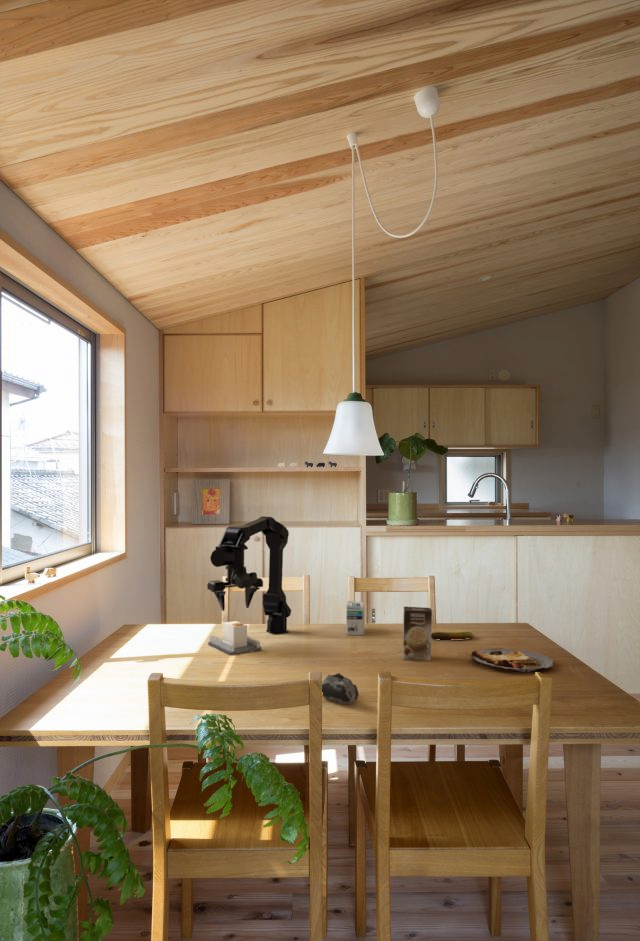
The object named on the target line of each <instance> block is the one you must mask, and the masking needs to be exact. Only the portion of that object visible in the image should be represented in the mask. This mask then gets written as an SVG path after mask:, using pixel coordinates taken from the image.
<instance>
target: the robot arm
mask: <svg viewBox="0 0 640 941" xmlns="http://www.w3.org/2000/svg"><path fill="white" fill-rule="evenodd" d="M258 533H261V534H262V535H264V536H265V544H266V545H267V547H268V549H269V559H268V560H269V561H268V562H269V565H268V566H269V567H268V589H267V591H266V592H265V593H263V594H262V604H261V605H262V608H263V612H264V615H265V616H268V617H267V618H268V619H267V622H266V623H267V624H266V625H267V626H266V630H265V632H267V633H270V634H272V635H280V634H288V633H290V630H288V629H287V626H288V625H287V624H288V622H287V621H288V618H289V617H290V616H291V614H292V609H291V608H290V606H289V605H288V603H287V597H286V594H285V592H284V590H283V565H284V564H283V560H284V550H285V547H286V546H287V544H288V542H289V541H288V540H289V536H290V533H289V530H288V528H287V527H286V526H285V525H284V524H283V523H281V522H279V521H277V520H276V519H275V518H274V517H272V516H260V517H259V518H257V519H254V520H252V521H249V522H246V523H245V524H242V525H232V526H228V527H226V528H225V531H224V533H223V535H222V538H221V540H220V542H219V544H218V545H216V546H215V549H214V550H213V551H212V552H211V555H210V558H209V559H210V562H211V564H212V565H213V567H216V568H219V567H224V566H225V570H227V572H226V573H227V574H226V575H227V576H226V578H225V581H223V580H219V579H218V580H209V581H208V583H207V590H210V592H212V593H213V594H214V595H215V597H216V599H217V602H218V604H219V607H220V610H221V611H222V612H224V611H225V608H226V607H225V606H226V603H225V602H226V601H225V600H226V599H225V595H226V593H227V591H225V589H227V588H236V587H237V588H238V589H244V599H245V600H244V601H245V608H246V609H249V608H250V605H251V602H252V600H253V597H254V595H255V593H256V592H257V591H258V590H260V589H261V588H263V587H264V581H263V579H262V578H260V577H258V573H256V572H254V571H253V572H250V573H249V572H247V566H245V550H248V549H249V548H248V546H247V545H246V543H247V542H249V540H250V539H251V537H252V536H254V535H256V534H258Z"/></svg>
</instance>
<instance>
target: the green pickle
mask: <svg viewBox="0 0 640 941" xmlns="http://www.w3.org/2000/svg"><path fill="white" fill-rule="evenodd" d="M471 637H472V638H474V633H473V632H472V631H471V630H465V629H462V630H455V631H452V630H449V631H448V630H447V631H446V630H443V631H441V630H437V631H436V630H435V631H433V632H431V639H433V640H434V639H440V640H451V639H466V638H471ZM440 640H439V641H440Z"/></svg>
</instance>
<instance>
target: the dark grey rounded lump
mask: <svg viewBox="0 0 640 941" xmlns="http://www.w3.org/2000/svg"><path fill="white" fill-rule="evenodd" d="M321 685H322V692H323V695H322V696H323V698H324V699H326V700H328V701H331V702H334V703H336V702H337V704H339V703H341V704H345V705H348V704H354V703H355V702H356V701H358V698H359V694H360V693H359V690H358V687H357V685H356V684H354V683H353V681H352V680H351V679H350V678H348V677H347V676H344V675H343V674H341V673H340V672H339V673H335V674H332V675H331V674H329V675H327V676H325V678H324V679H323V680H322V682H321Z"/></svg>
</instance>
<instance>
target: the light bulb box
mask: <svg viewBox="0 0 640 941" xmlns="http://www.w3.org/2000/svg"><path fill="white" fill-rule="evenodd" d="M345 607H346V608H345V612H346V614H345V618H346V619H345V620H346V622H345V623H346V625H345V627H346V628H345V629H346V636H365V605H364V601H350V600H349V601H348V600H346V605H345Z"/></svg>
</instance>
